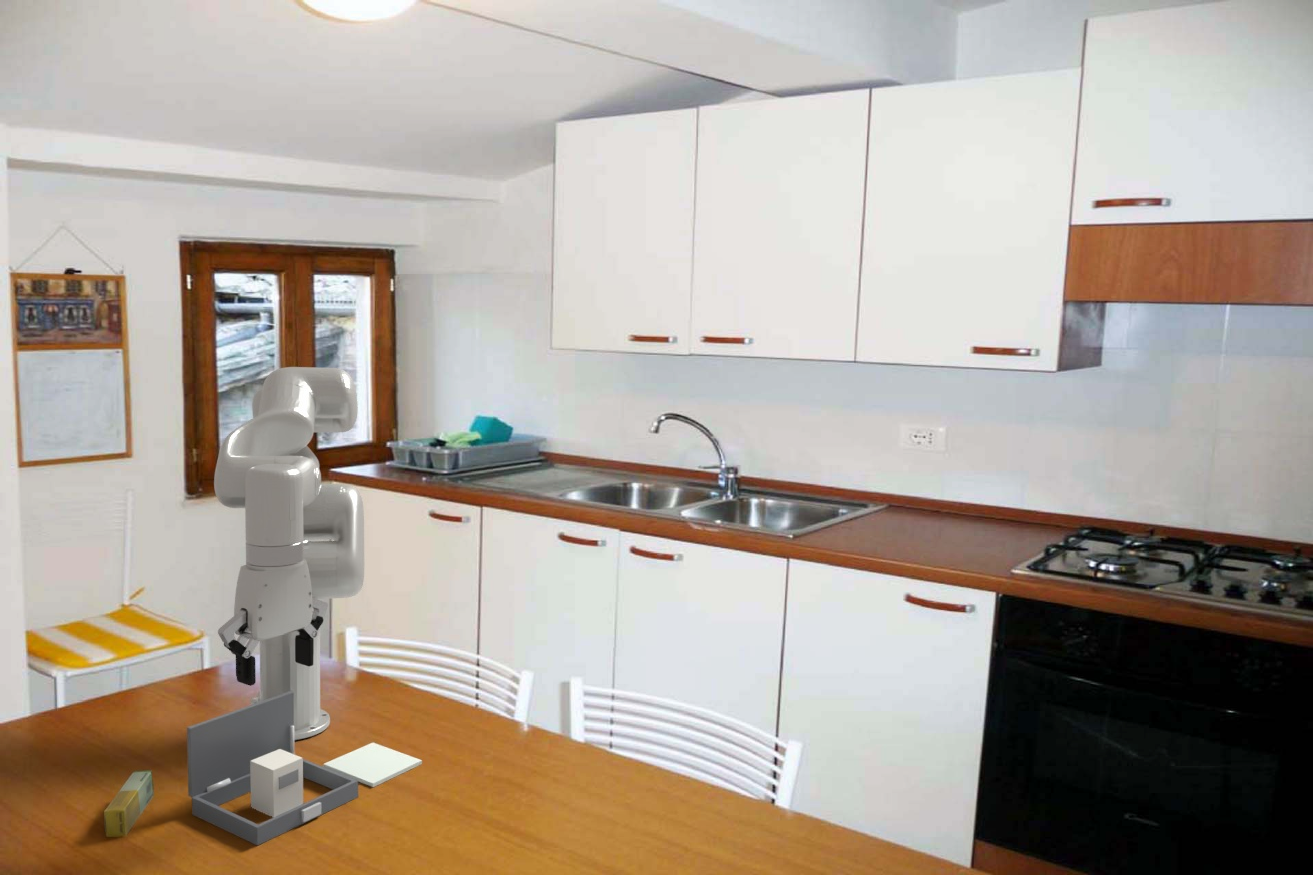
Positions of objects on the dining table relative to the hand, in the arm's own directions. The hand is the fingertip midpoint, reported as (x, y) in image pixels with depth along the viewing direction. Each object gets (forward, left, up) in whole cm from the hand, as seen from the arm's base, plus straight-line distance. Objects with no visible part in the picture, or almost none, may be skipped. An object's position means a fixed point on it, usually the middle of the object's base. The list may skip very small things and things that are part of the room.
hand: (275, 673), depth 148 cm
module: (0, 0, -20) cm, 20 cm away
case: (0, 0, -20) cm, 20 cm away
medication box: (-14, -14, -20) cm, 28 cm away
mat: (+1, +17, -20) cm, 26 cm away
